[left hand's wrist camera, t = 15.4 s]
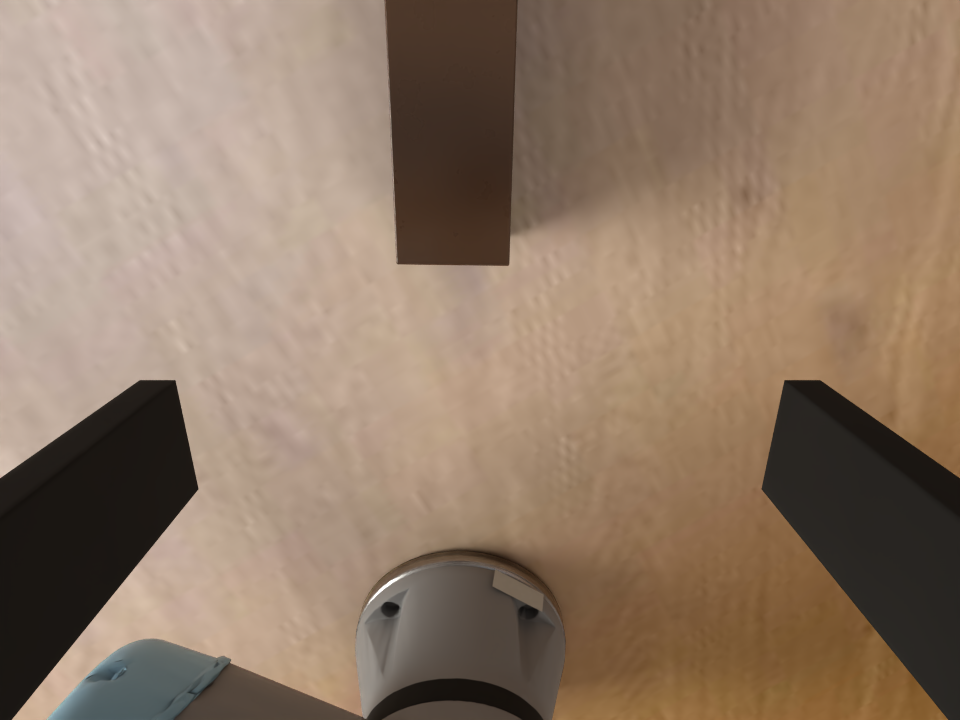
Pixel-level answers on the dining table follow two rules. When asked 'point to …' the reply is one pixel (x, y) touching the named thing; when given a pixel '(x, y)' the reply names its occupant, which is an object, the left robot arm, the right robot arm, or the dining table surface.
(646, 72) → the dining table surface
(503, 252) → the beam
